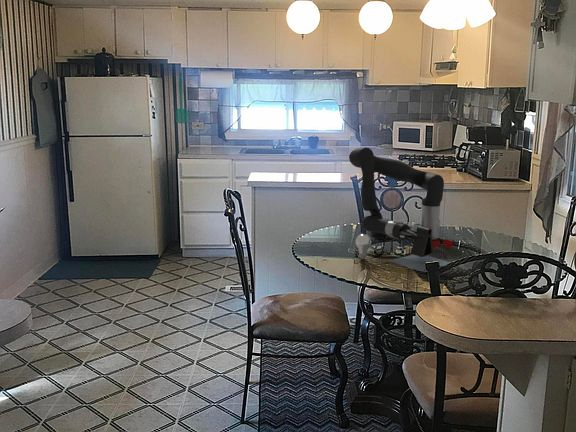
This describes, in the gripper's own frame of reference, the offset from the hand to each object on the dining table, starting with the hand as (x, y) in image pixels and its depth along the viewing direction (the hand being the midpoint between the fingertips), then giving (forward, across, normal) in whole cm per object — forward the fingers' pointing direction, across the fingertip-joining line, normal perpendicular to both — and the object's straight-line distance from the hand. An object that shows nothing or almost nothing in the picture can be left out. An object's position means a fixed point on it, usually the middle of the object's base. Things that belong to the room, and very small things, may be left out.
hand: (426, 239), depth 260 cm
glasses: (-5, +24, +12) cm, 27 cm away
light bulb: (-20, -18, +12) cm, 30 cm away
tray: (-1, 0, +12) cm, 12 cm away
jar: (-47, +19, +12) cm, 52 cm away
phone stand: (-2, 0, +7) cm, 7 cm away
